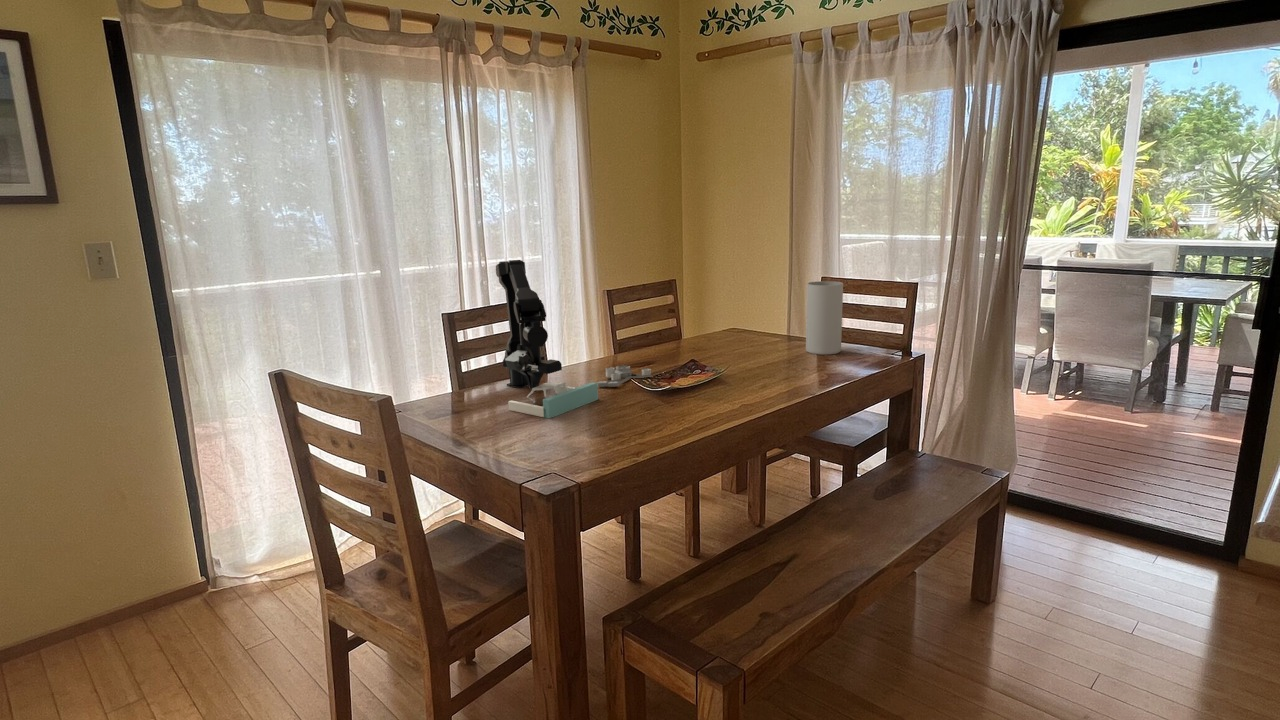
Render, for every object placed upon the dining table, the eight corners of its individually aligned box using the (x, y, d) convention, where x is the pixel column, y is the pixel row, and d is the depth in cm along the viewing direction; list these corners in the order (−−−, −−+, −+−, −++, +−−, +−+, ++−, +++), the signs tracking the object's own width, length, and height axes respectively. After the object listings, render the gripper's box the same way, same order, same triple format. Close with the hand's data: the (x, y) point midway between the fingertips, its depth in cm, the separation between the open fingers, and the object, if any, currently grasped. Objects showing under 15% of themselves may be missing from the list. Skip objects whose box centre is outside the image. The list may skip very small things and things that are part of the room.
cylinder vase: (806, 355, 254) (808, 285, 249) (804, 347, 266) (806, 281, 261) (842, 355, 252) (845, 285, 247) (839, 347, 264) (841, 281, 259)
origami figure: (553, 394, 214) (552, 378, 213) (571, 399, 209) (570, 383, 207) (521, 403, 206) (520, 387, 205) (539, 408, 200) (538, 391, 199)
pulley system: (582, 384, 229) (604, 391, 216) (581, 369, 228) (604, 376, 215) (653, 373, 243) (678, 380, 230) (653, 360, 242) (678, 365, 230)
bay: (508, 409, 200) (507, 392, 199) (558, 392, 216) (557, 376, 215) (549, 418, 191) (548, 400, 190) (598, 399, 207) (597, 383, 206)
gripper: (486, 341, 203) (491, 394, 206) (533, 348, 192) (537, 403, 196) (515, 335, 212) (518, 385, 215) (561, 341, 201) (564, 394, 204)
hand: (533, 392), depth 207 cm, fingers closed
